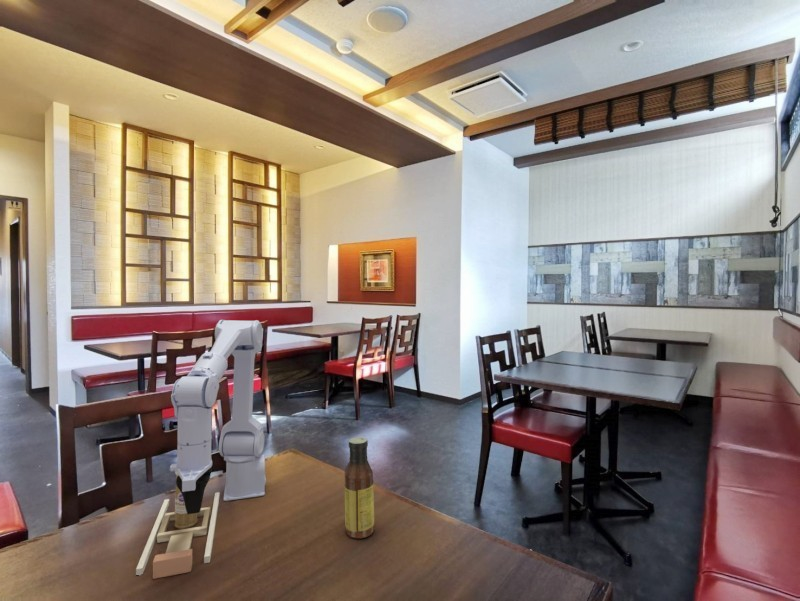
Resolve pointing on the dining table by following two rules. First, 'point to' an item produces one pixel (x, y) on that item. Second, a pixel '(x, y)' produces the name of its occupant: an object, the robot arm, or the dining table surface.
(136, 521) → the dining table surface
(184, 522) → the sprinkles bottle
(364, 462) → the sauce bottle
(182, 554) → the sliding strip
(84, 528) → the dining table surface
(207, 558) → the lane rails
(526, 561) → the dining table surface
